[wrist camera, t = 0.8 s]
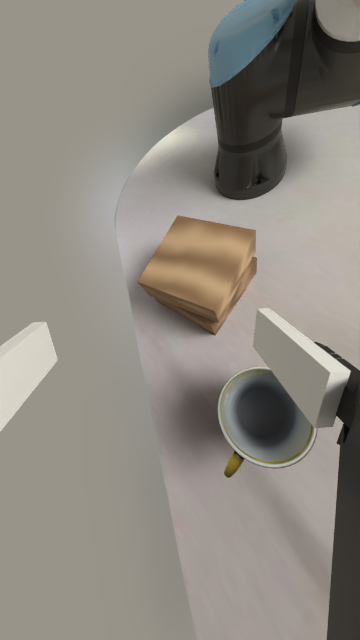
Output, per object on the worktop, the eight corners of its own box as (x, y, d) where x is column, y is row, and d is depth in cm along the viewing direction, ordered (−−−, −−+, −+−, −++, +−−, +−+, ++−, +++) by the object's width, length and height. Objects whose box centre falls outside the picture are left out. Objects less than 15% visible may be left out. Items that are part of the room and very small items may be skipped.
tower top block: (185, 235, 43) (177, 215, 38) (255, 251, 37) (255, 230, 32) (150, 295, 40) (137, 281, 35) (219, 323, 34) (214, 311, 30)
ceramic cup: (247, 364, 35) (246, 350, 26) (311, 403, 31) (336, 402, 22) (203, 435, 33) (185, 446, 24) (264, 487, 29) (270, 524, 20)
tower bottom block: (196, 250, 47) (190, 233, 42) (256, 274, 41) (256, 258, 36) (158, 302, 45) (148, 291, 40) (215, 335, 39) (211, 326, 34)
